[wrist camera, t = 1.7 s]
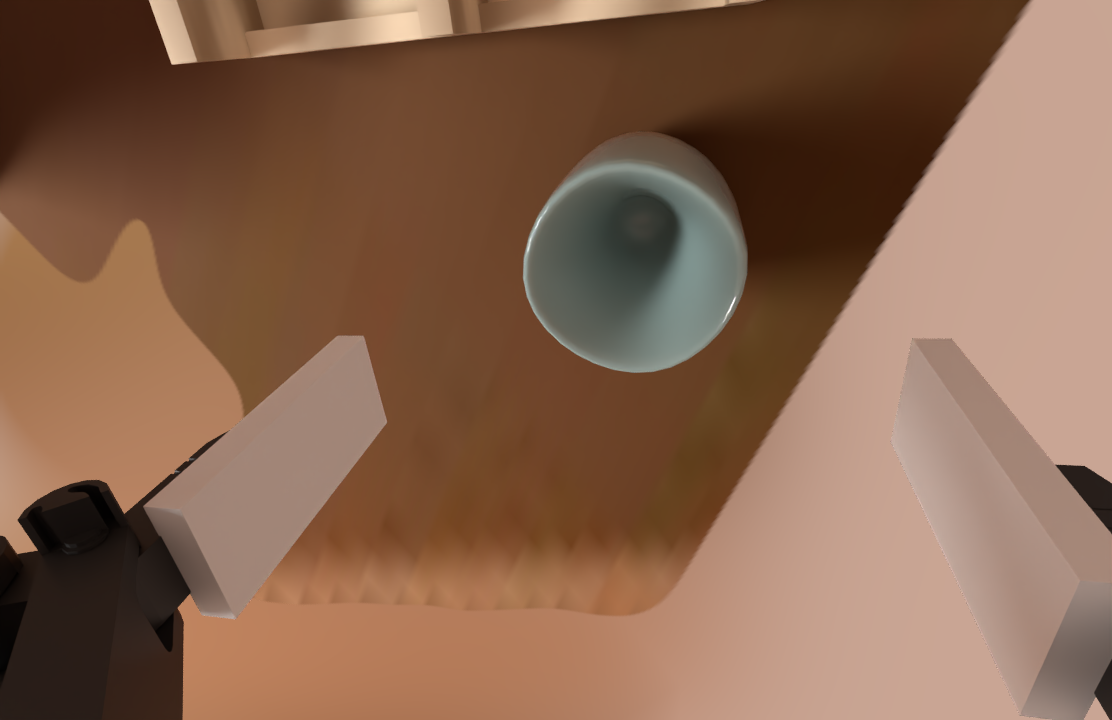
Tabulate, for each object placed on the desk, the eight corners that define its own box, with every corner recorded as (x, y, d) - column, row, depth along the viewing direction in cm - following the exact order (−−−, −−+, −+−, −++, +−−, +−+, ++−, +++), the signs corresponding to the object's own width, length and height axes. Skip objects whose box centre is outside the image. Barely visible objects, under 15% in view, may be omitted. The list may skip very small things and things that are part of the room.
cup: (668, 304, 32) (660, 409, 23) (541, 226, 31) (485, 305, 23) (765, 176, 28) (798, 245, 19) (622, 84, 27) (592, 112, 19)
